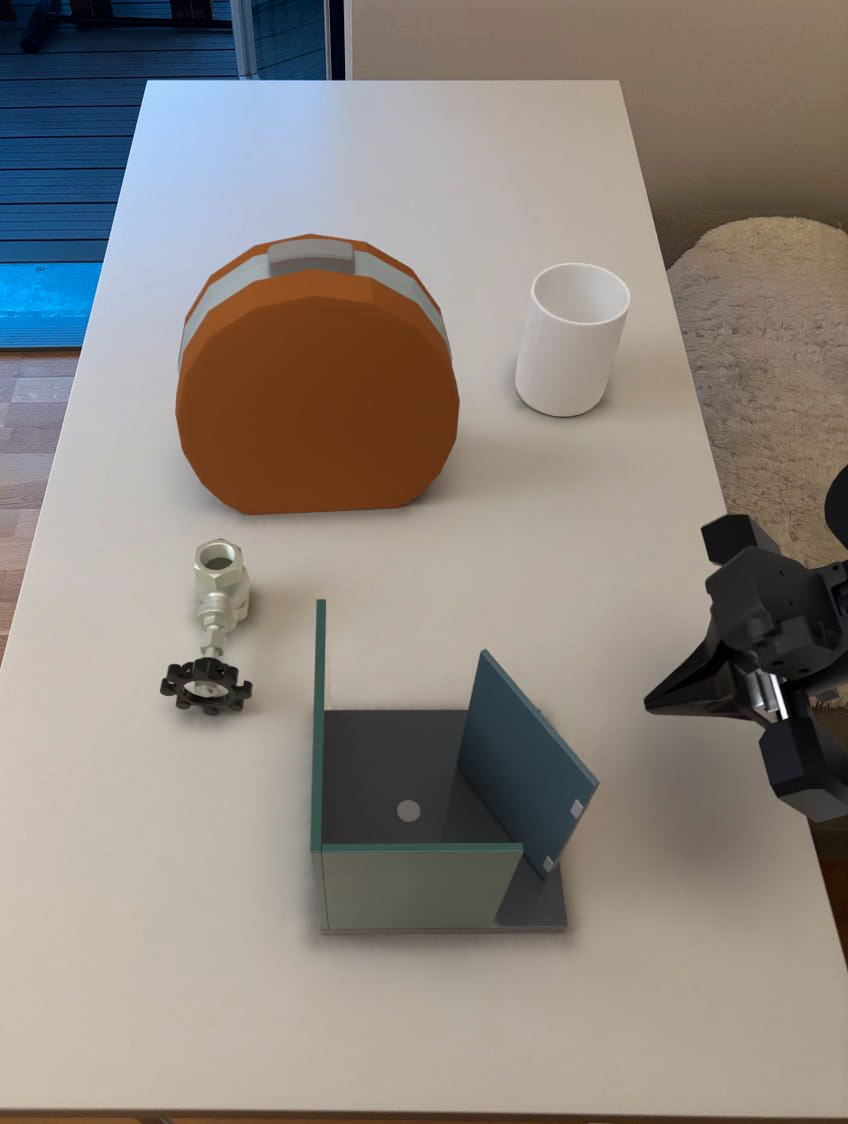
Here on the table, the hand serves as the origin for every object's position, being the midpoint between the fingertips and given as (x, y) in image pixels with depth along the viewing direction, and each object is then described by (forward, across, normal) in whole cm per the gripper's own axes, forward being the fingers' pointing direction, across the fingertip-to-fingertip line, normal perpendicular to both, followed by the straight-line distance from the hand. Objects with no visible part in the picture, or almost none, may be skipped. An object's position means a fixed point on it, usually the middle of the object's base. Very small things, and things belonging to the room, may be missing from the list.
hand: (647, 707), depth 59 cm
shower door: (+11, +4, -1) cm, 12 cm away
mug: (+6, -41, +7) cm, 42 cm away
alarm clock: (+22, -29, -9) cm, 37 cm away
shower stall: (+16, +4, -3) cm, 16 cm away
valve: (+27, -10, -15) cm, 32 cm away
